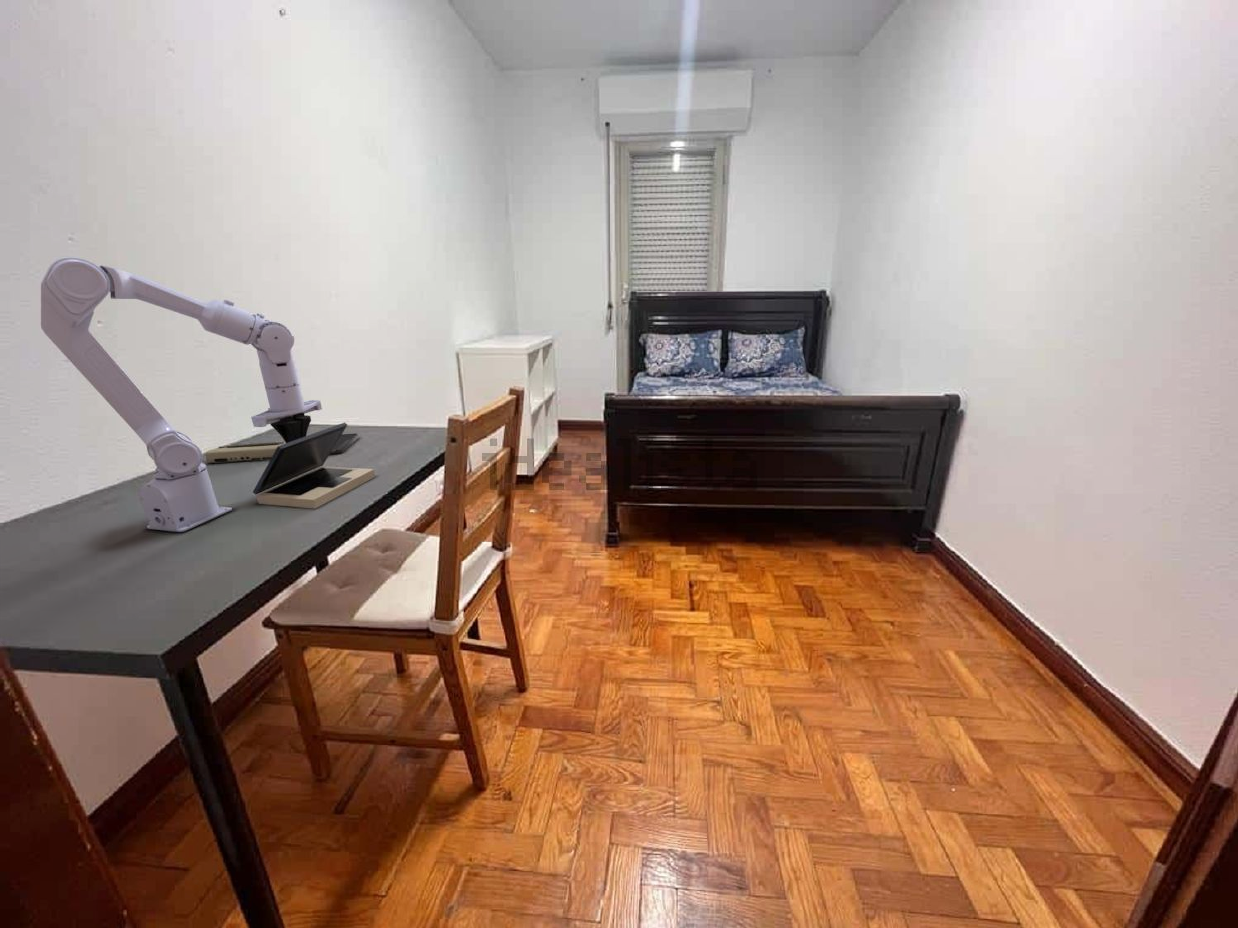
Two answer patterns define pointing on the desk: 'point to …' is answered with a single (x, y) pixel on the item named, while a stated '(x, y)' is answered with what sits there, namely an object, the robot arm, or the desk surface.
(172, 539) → the desk surface
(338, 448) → the phone
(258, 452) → the computer
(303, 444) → the laptop screen
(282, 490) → the laptop
